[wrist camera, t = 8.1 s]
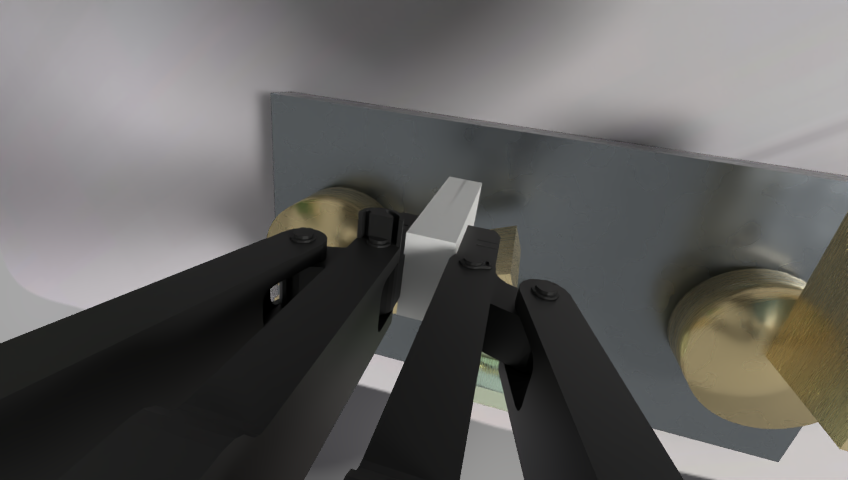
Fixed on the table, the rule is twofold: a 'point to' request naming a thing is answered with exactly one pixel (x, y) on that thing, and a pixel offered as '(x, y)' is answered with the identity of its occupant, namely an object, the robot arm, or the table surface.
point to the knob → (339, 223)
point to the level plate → (579, 227)
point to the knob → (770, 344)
